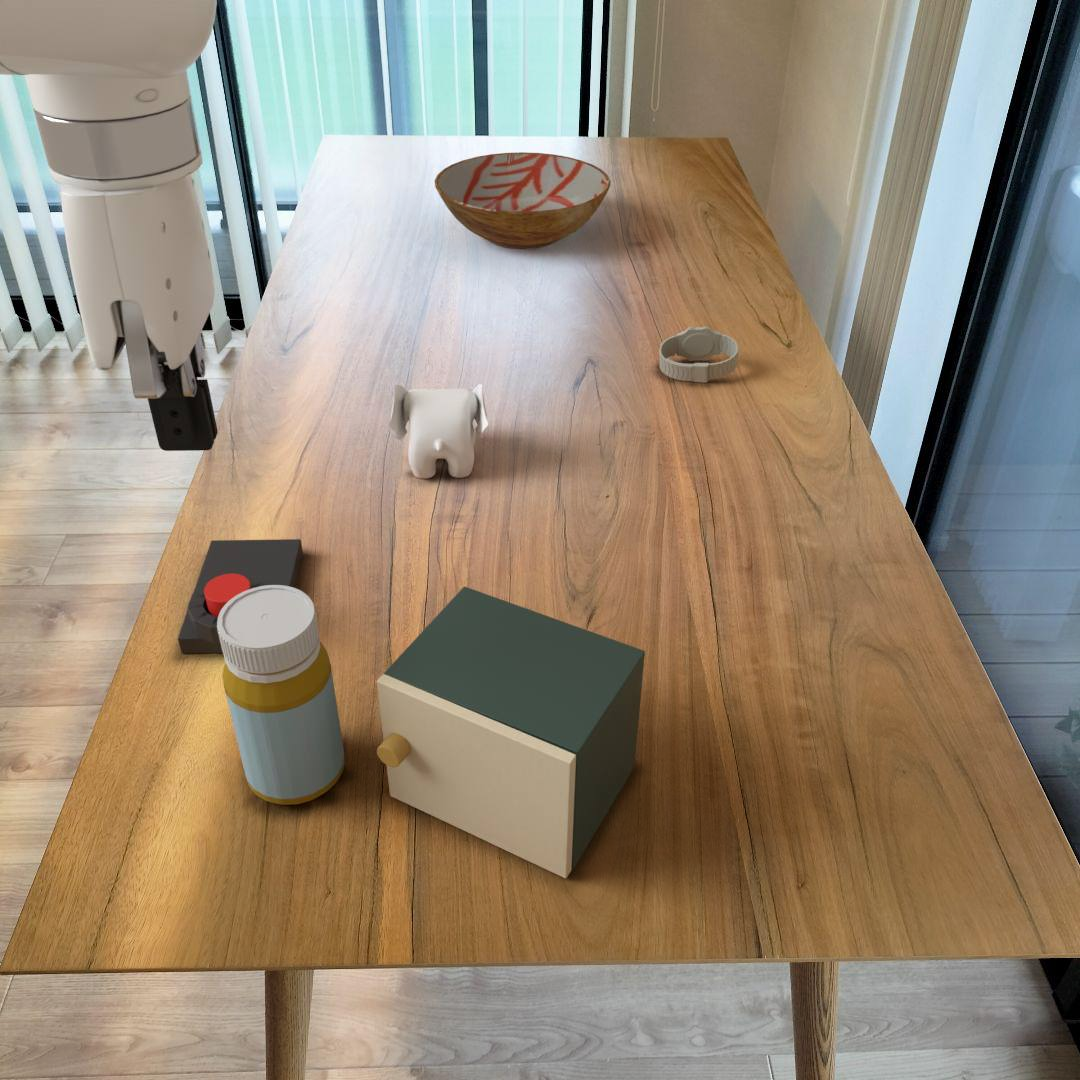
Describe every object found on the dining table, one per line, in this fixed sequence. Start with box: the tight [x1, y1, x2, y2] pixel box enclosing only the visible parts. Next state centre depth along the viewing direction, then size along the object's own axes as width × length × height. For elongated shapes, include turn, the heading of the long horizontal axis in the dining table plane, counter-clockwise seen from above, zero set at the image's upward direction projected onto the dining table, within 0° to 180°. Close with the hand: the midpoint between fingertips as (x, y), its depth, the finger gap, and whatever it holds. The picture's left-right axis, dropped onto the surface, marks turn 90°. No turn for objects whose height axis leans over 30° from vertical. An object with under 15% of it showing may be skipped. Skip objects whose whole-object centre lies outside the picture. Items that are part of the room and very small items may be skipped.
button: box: [204, 574, 251, 617], centre depth 87 cm, size 4×4×2 cm
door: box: [376, 673, 576, 880], centre depth 69 cm, size 2×14×11 cm, turn 61°
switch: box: [177, 538, 304, 655], centre depth 91 cm, size 14×8×4 cm, turn 2°
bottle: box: [217, 585, 346, 806], centre depth 73 cm, size 7×7×15 cm
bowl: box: [434, 151, 611, 250], centre depth 156 cm, size 25×25×8 cm
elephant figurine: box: [388, 383, 489, 479], centre depth 108 cm, size 10×12×9 cm
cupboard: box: [383, 585, 646, 871], centre depth 74 cm, size 10×14×12 cm
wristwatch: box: [658, 326, 739, 384], centre depth 124 cm, size 9×6×5 cm
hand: (189, 443), depth 66 cm, fingers closed
